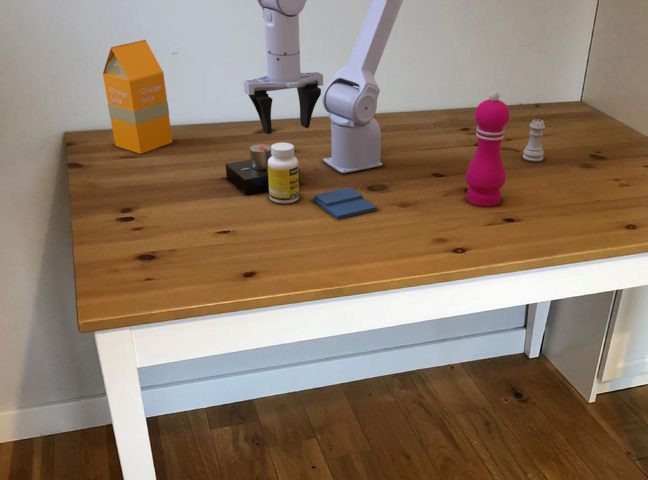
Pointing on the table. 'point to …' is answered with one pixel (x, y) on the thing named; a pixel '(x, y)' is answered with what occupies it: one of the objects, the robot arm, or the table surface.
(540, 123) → the rook chess piece
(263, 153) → the knob
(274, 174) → the supplement bottle
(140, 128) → the orange juice
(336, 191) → the dish cloth
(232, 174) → the panel
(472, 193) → the pepper mill
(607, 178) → the table surface
